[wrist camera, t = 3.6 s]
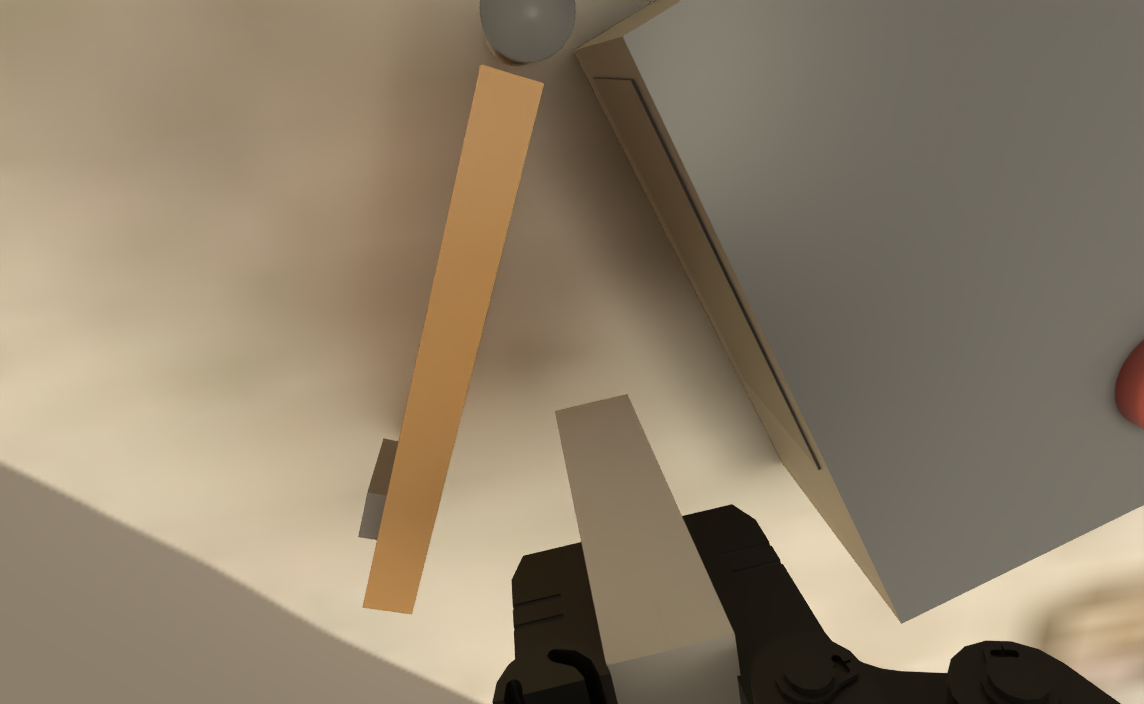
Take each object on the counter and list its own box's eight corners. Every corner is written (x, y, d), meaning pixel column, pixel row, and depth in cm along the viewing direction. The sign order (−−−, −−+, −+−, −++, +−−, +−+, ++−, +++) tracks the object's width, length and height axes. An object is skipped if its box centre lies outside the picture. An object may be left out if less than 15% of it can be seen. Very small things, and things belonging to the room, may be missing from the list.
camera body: (544, -3, 16) (583, -61, 9) (930, -243, 15) (1308, -516, 8) (781, 464, 22) (919, 652, 15) (1073, 311, 21) (1369, 433, 14)
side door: (481, -13, 16) (474, -65, 10) (551, 10, 16) (587, -28, 10) (384, 449, 20) (337, 611, 14) (441, 460, 20) (420, 622, 14)
